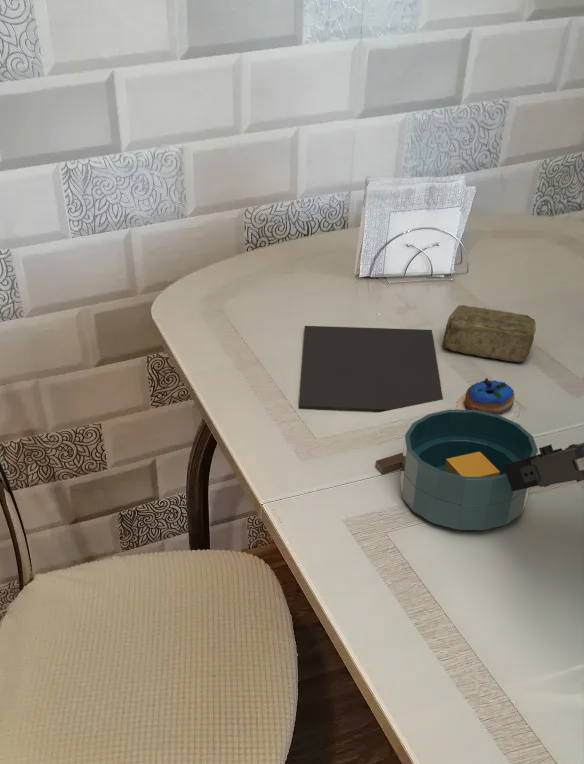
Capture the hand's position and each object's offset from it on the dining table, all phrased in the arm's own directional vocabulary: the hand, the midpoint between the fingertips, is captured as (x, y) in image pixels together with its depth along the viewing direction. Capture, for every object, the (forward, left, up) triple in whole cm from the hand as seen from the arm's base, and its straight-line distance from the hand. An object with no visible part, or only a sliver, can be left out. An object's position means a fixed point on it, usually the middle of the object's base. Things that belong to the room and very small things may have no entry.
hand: (514, 476), depth 77 cm
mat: (+12, -31, -8) cm, 34 cm away
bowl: (+3, -5, -8) cm, 10 cm away
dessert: (-2, -22, -8) cm, 24 cm away
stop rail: (+7, -12, -8) cm, 16 cm away
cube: (+3, -5, -7) cm, 9 cm away
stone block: (-4, -37, -8) cm, 38 cm away
